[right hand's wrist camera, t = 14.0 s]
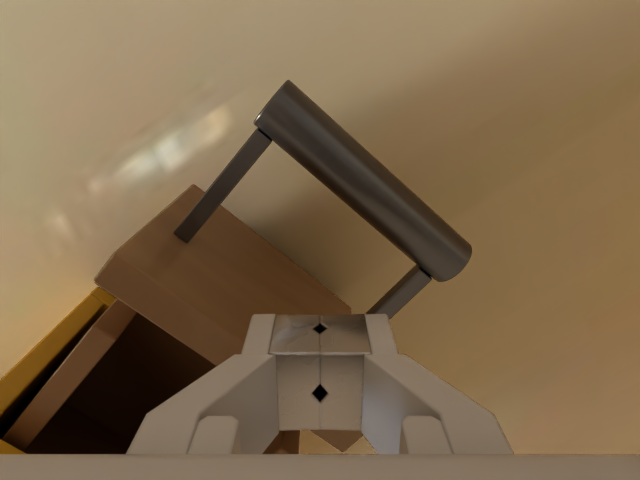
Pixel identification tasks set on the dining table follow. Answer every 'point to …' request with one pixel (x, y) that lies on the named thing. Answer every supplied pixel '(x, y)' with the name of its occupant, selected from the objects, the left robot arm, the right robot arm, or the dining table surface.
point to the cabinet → (46, 361)
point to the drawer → (222, 288)
